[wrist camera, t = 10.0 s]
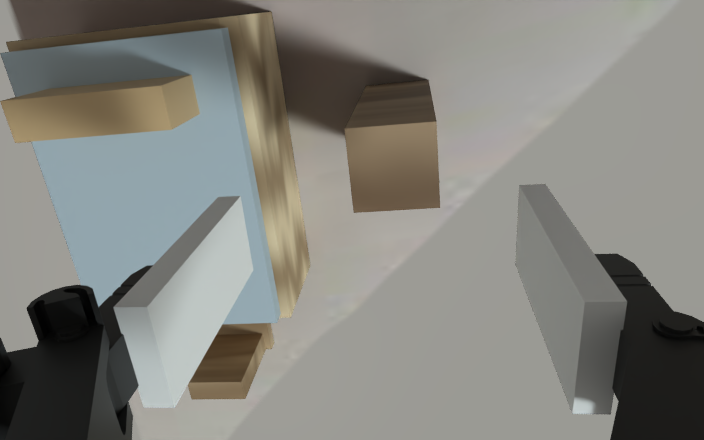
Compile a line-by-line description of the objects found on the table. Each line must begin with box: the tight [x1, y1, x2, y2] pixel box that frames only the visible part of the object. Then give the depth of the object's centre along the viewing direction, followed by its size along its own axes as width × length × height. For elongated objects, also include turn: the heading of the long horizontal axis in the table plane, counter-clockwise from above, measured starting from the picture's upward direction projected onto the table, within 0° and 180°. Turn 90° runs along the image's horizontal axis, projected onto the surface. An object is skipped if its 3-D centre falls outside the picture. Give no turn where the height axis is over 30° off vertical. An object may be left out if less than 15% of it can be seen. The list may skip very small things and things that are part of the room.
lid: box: [1, 28, 281, 324], centre depth 28 cm, size 17×12×4 cm
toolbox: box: [6, 12, 310, 399], centre depth 35 cm, size 25×13×7 cm, turn 6°
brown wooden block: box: [345, 80, 440, 213], centre depth 29 cm, size 4×4×12 cm
